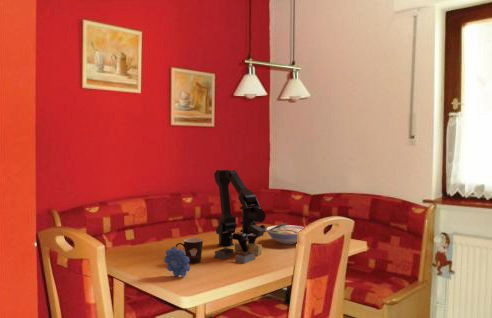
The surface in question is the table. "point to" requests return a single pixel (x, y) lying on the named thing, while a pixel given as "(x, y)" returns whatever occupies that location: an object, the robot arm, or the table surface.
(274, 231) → the ramen bowl
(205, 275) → the table surface
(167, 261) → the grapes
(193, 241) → the coffee mug
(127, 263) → the table surface
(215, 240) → the table surface
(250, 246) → the brown rectangular block
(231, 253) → the grey frame
